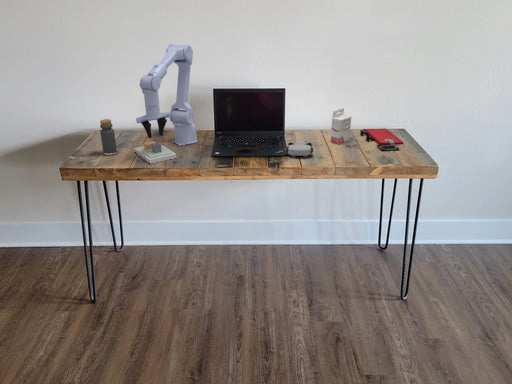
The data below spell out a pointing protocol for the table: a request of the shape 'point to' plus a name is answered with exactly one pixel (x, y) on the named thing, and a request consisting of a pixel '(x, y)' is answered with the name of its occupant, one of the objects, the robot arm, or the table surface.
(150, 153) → the cover
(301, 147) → the robot toy
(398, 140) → the red board with handle
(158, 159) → the white layered base plate
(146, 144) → the slider
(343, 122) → the ink cartridge box
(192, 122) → the robot arm
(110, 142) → the bottle
